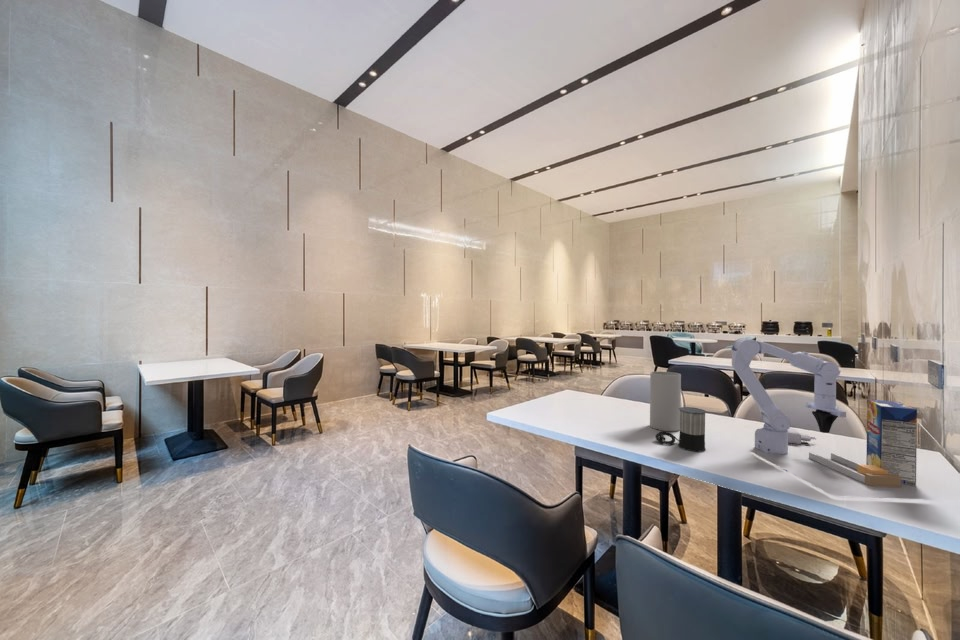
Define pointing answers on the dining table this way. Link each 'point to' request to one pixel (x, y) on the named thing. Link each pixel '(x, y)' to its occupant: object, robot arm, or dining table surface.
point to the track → (856, 471)
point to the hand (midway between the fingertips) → (824, 432)
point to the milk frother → (688, 430)
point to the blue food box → (892, 438)
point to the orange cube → (871, 470)
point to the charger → (797, 436)
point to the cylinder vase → (665, 400)
